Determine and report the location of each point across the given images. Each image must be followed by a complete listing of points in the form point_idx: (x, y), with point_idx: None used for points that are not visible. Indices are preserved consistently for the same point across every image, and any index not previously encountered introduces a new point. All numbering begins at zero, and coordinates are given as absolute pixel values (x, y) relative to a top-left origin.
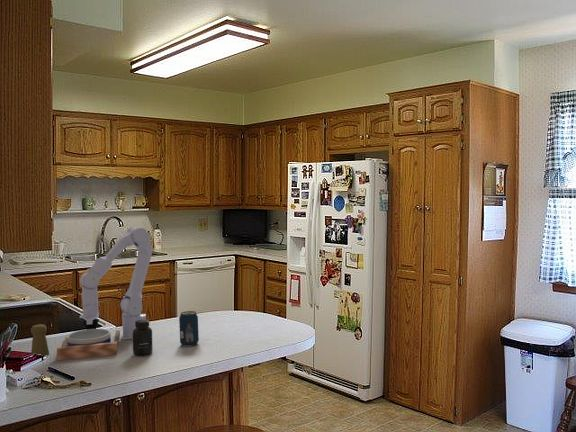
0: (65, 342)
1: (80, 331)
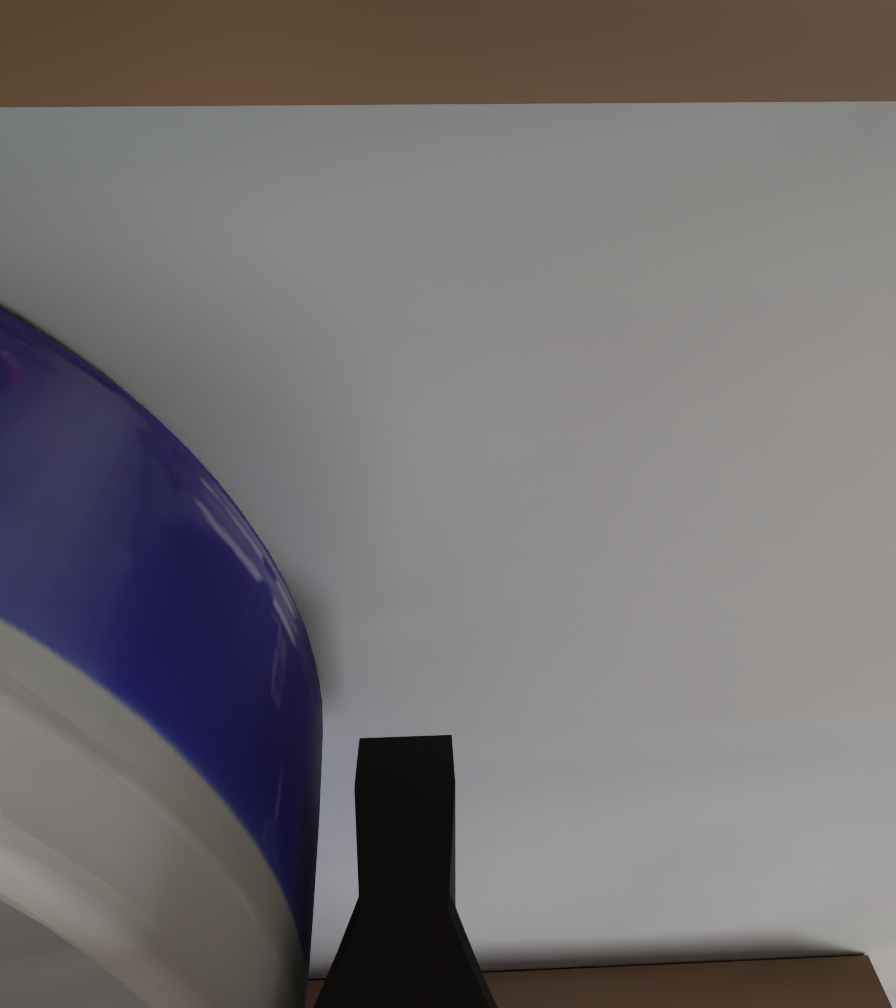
0: (33, 10)
1: (28, 893)
